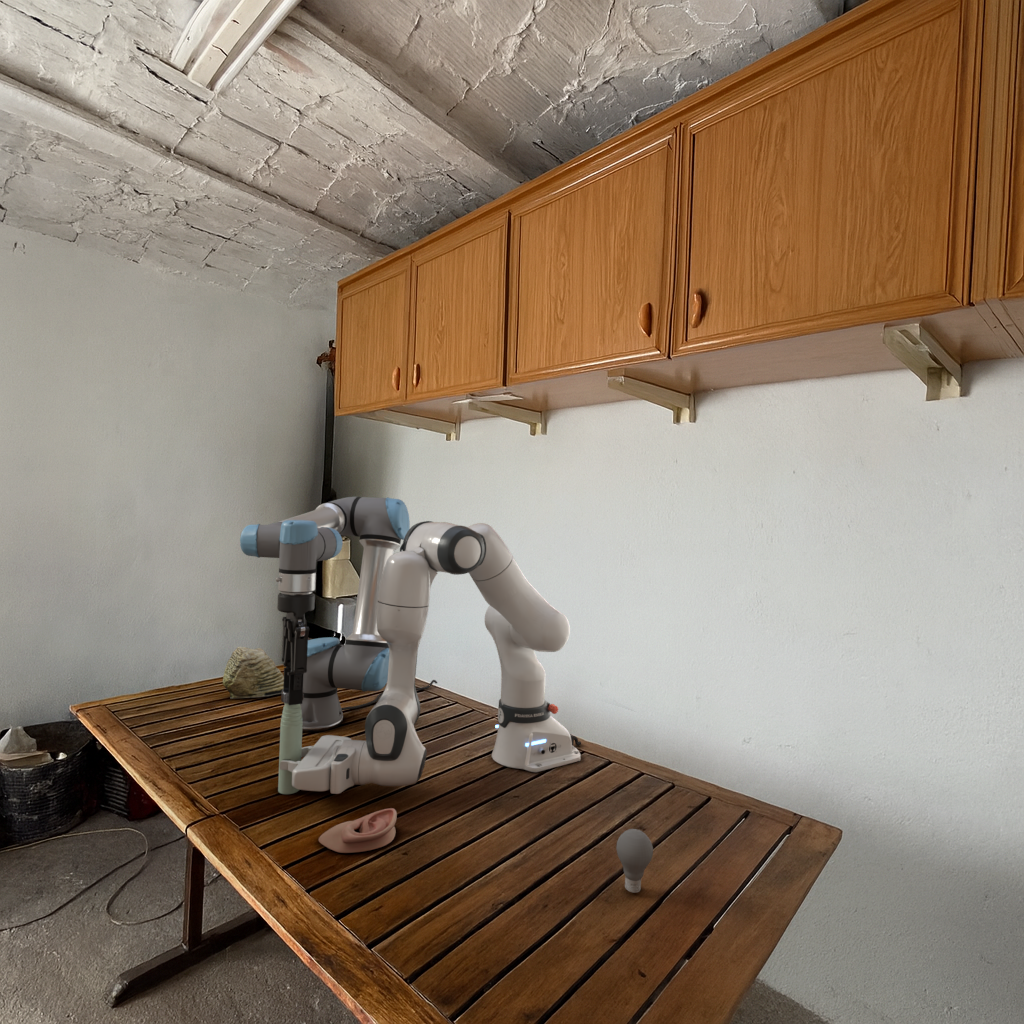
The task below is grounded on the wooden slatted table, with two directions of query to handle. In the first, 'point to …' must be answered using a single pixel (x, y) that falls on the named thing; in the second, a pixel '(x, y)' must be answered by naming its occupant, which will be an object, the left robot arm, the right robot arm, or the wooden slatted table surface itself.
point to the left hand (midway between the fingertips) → (292, 700)
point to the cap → (287, 695)
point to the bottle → (289, 744)
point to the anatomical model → (362, 833)
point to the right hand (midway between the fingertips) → (286, 758)
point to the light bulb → (634, 857)
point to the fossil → (252, 674)
